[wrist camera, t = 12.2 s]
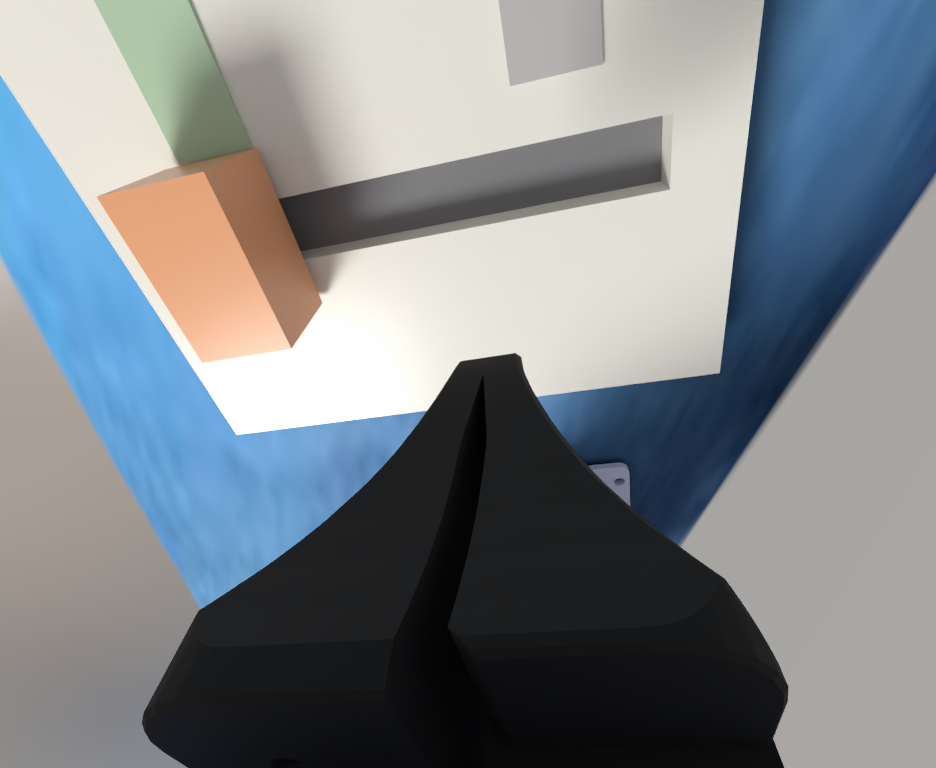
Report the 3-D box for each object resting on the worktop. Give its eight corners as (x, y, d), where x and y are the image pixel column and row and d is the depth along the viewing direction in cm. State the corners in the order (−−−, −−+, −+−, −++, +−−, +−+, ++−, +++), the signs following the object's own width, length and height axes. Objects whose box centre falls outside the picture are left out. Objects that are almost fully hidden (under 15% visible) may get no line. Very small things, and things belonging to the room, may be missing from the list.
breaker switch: (331, 290, 17) (291, 348, 14) (256, 303, 18) (202, 362, 15) (270, 141, 14) (203, 171, 11) (183, 162, 15) (95, 196, 12)
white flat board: (701, 344, 19) (720, 374, 18) (255, 406, 23) (235, 436, 21) (757, -290, 10) (809, -356, 8) (-4, -29, 13) (-78, -38, 12)
